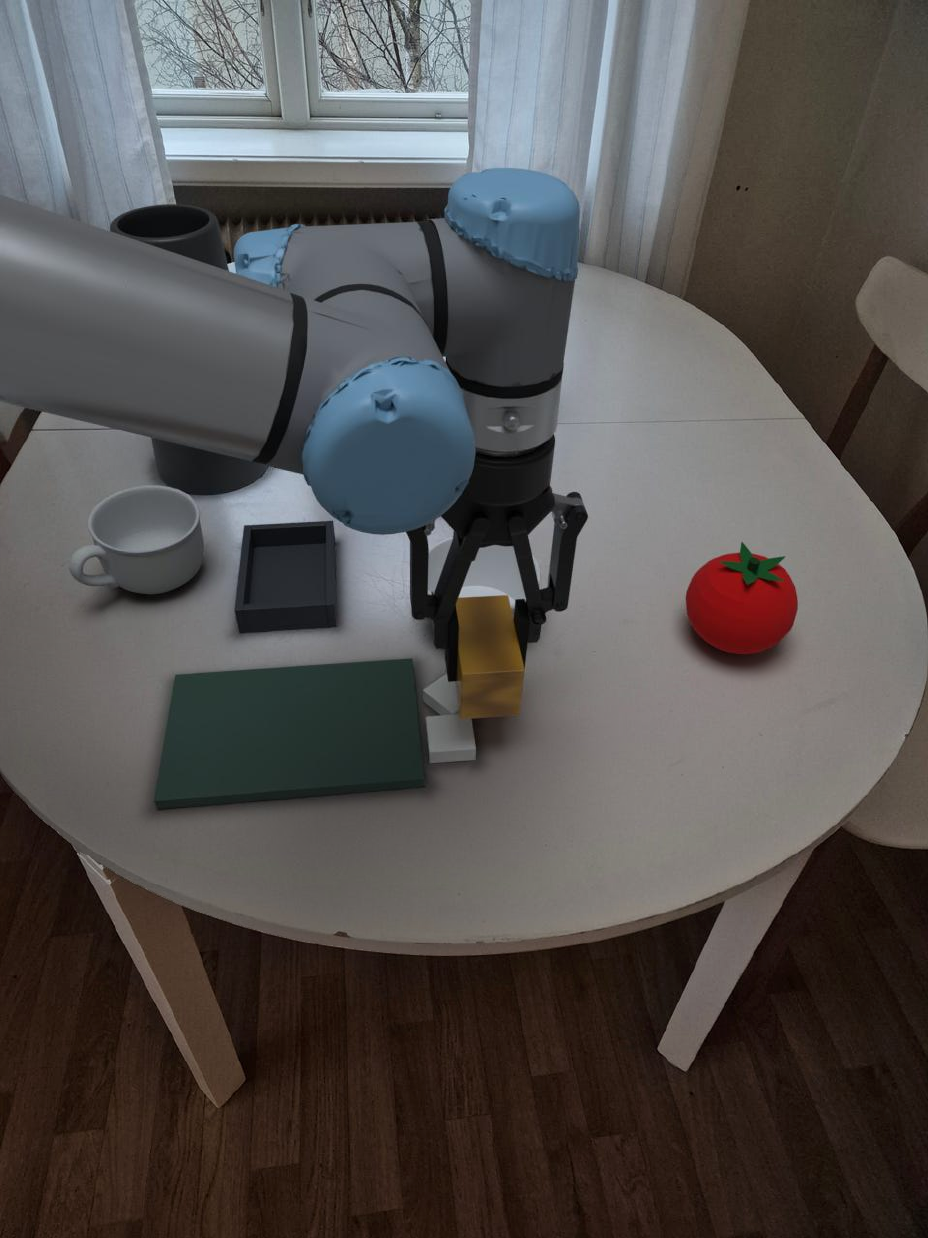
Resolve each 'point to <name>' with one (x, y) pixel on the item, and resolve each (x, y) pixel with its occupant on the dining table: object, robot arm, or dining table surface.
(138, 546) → the teacup
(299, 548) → the tray
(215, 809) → the dining table surface
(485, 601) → the yellow rectangular block
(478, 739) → the dining table surface
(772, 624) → the tomato
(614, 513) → the dining table surface
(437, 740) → the grey square block
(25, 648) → the dining table surface
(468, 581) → the food container
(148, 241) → the vase
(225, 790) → the chalkboard
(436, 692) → the white square block
